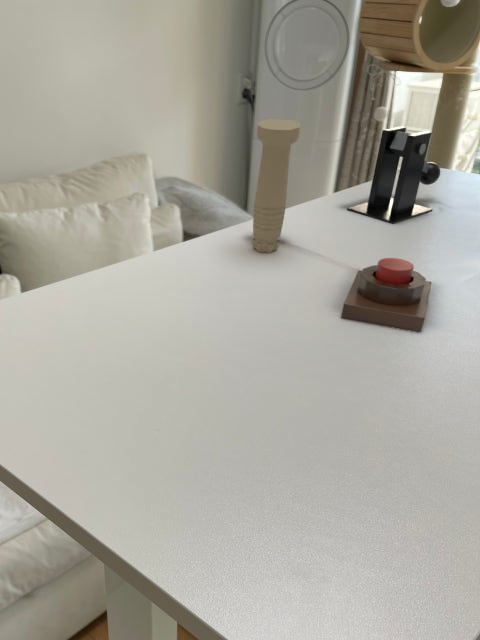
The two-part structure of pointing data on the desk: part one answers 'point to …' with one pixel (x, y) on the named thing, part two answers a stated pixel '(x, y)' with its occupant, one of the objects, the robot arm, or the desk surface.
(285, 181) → the handle
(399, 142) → the lever
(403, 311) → the button block
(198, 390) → the desk surface
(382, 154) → the bracket
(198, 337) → the desk surface
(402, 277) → the button
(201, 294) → the desk surface
